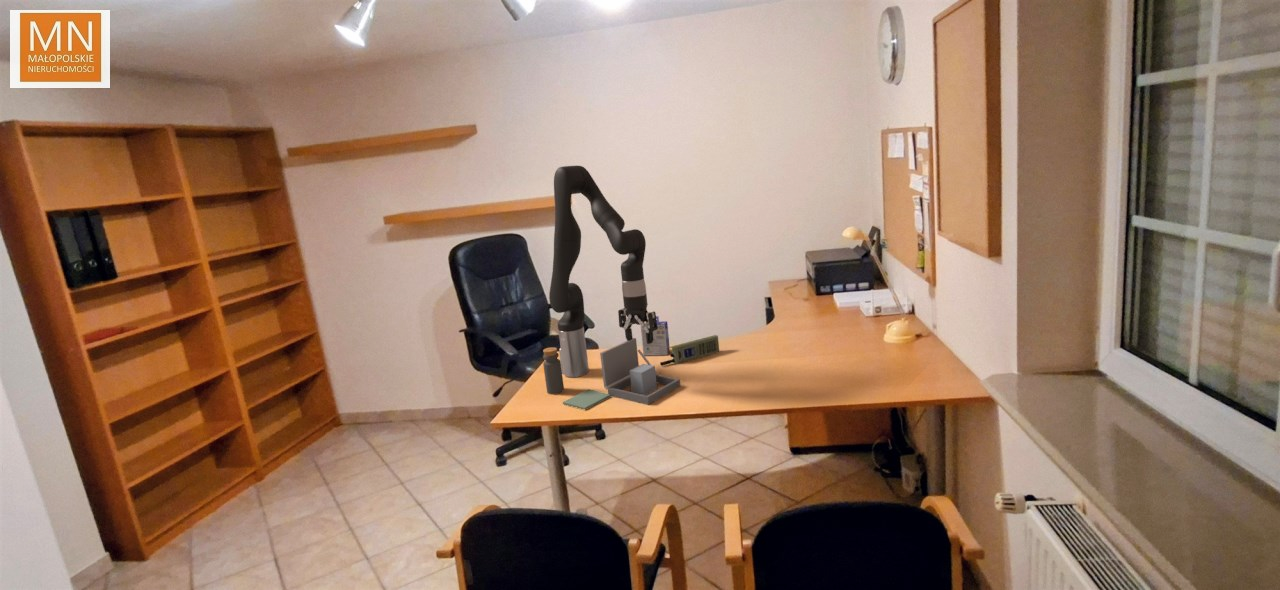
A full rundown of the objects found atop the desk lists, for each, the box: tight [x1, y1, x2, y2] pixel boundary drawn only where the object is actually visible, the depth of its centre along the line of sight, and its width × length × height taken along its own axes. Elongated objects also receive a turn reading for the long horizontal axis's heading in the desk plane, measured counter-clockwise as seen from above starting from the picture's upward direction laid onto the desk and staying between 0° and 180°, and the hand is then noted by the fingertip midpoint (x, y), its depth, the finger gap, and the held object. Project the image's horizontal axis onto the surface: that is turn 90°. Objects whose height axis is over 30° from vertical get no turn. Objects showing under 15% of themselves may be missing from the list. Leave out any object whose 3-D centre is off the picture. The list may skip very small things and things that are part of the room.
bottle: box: [542, 347, 565, 395], centre depth 214 cm, size 6×6×15 cm
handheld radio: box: [659, 334, 720, 366], centre depth 234 cm, size 7×3×25 cm
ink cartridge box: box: [640, 315, 671, 357], centre depth 243 cm, size 10×6×14 cm, turn 79°
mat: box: [562, 388, 612, 410], centre depth 205 cm, size 10×12×1 cm
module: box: [630, 363, 658, 396], centre depth 207 cm, size 5×7×8 cm
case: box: [599, 337, 681, 406], centre depth 207 cm, size 18×18×14 cm
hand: (639, 341), depth 204 cm, fingers open, 8 cm apart
